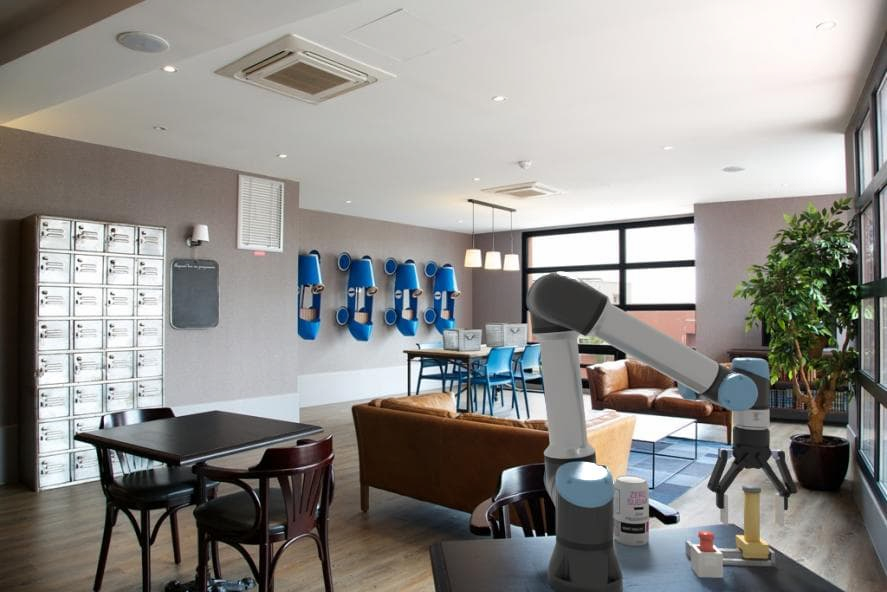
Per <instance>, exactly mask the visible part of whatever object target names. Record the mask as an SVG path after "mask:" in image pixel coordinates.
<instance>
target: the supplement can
mask: <svg viewBox="0 0 887 592" xmlns="http://www.w3.org/2000/svg"><path fill="white" fill-rule="evenodd" d="M613 484H614V537H613V539H615V541H616V542H618V543H619V542H620V545H621V544H622V545H624V546H630V547H641V546H644V545H646V544H647V543H648V542H649V541H650V521H649V519H650V513H649V512H650V510H649V509H650V508H649V507H650V499H649V498H650V497H649V496H650V493H649V491H650V489H649V484H648V483H647V479H646V478H644V477H642V476H638V475H629V474H628V475H627V474H626V475H618V476H616V477H615V480H614V481H613Z"/></svg>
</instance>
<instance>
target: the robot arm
mask: <svg viewBox="0 0 887 592" xmlns="http://www.w3.org/2000/svg"><path fill="white" fill-rule="evenodd" d="M526 307H527V310H528V312H529V315H530V317H529V318H530V326H531V334H532V336H533V337H534V338H536V339H537V340H538V342H539V349H540V350H539V351H540V360H541V369H542V378H543V379H542V381H543V387H544V389H543V390H544V399H545V400H544V401H545V409H546V410H545V411H546V419H547V420H546V421H547V430H548V439H549V444H548V446H547V448H546V449H545V450H544V451H543V455H544V468H545V469H544V472H543V473H544V475H543V483H544V487H545V490H546V492H547V494H548V496H549V498H551V501H552V503H553V505H554V507H555V544H554V548H553V550H552V554H551V555H550V556H551V557H550V560H549V562H548V566H547V572H546V573H547V579H546V581H547V583H548V585H549V586H550V587H551V588H552V589H554V590H555V591H557V592H622V590H623V582H624V581H623V573H622V570H621V567H620V564H619V563H620V562H619V559H618V557H617V554H616V551H615V548H614V545H615V544H614V478H613V475H612V473H611V472H610V471H609V469H607V468H606V467H604V466H602V465H598V464H597V455H596V449H595V447H593V446H592V445H591V444H590V443H589V441H588V432H587V431H588V430H587V423H586V422H587V421H586V413H585V403H584V394H583V391H584V390H583V383H582V382H583V381H582V374H581V364H580V355H579V354H580V353H579V343H578V337H579V336H580V335H581V336H582V335H583V337H589V336H593V337H595V338H597V339H599V340H601V341H602V342H604V343H606V344H608V345H609V346H612V347H613V348H615V349H617V350H619V351H621V352H623V353H625V354H626V355H628V356H629V357H632V358H633V359H635V360H637V361H638V362H641V363H643V364H644V365H646V366H648V367H650V368H652V369H653V370H655V371H657V372H659V373H661V374H663V375H664V376H666V377H668V378H670V379H672V380H673V381H675V382H677V389H678V394H679V396H680V397H681V398H682V399H683V400H687V401H694V402H695V401H696V402H697V401H705V402H708V403H710V404H713V405H717V406H720V407H722V408H724V409H726V410H727V411H730V412H732V424H734V426H733V427H732V447H731V448H728V449H727V448H723V447H719V448H718V449H717V452H718V453H717V458H716V459H717V460H716V462H715V463H714V467H713V470H712V472H711V475H710V478H709V480H708V482H707V485H706V487H707V489H708V490H709V491H711V492H712V493H715V504H716V507H717V508H718V509H720V510H719V511H720V513H719V518H720V522H721V523H722V524H723V525H724V526H729V495H728V494H727V493H726V492H727V491H728V489H729V487H731V485H732V484H733V482H734V481H735V479H736V478H737V477H738V475H739V474H740V472H742V471H743V470H744V469H749V470H750V469H756V470H760V469H761V470H762V471H763V472H764V474H765V475H766V476H767V478H768V479H769V480H770V482H771V483H772V485H773V486H774V487H775V489H776V490H777V492H778V493H774V522H775V524H777V525H778V526H779V527H785V511H788V510H789V498H790V497H791V495H795V494H797V493H798V489H797V487H796V484H795V482H794V479H793V476H792V474H791V472H790V470H789V466H788V464H787V462H786V453H785V451H784V450H782V449H780V448H775V449H771V448H770V447H771V445H770V443H771V441H770V440H771V433H770V432H771V431H770V429H769V428H768V427H769V426H770V425H771V424H770V421H771V420H770V381H771V377H770V368H769V363H768V361H767V360H766V359H763V358H758V357H757V358H756V357H735V358H733V359H732V360H731V361H732V362H731V365H730V366H724V365H722V364H720V363H718V362H717V361H716V360H714V359H711V358H709V356H706V355H705V354H702V353H700V352H699V351H698V350H695V349H693V348H692V347H690V346H688V345H687V344H685V343H683V342H680V341H679V340H677V339H675V338H674V337H672V336H671V335H668V334H667V333H664V332H663V331H661V330H660V329H658V328H656V327H653V326H652V325H650V324H648V323H646V322H645V321H643V320H642V319H639V318H638V317H635V316H634V315H632V314H630V313H629V312H627V311H625V310H623V309H621V308H619V307H618V306H616V305H614V304H612V302H611V300H610V297H609V296H608V295H606V294H605V293H603V292H601V291H599V290H597V289H596V288H594V287H593V286H592V285H589V283H587V282H585V281H583V280H582V279H580V278H579V277H577V275H575V274H572V273H570V272H566V271H555V272H549V273H548V274H545V275H542V276H540V277H539V278H537V279H536V280H535V281H534V282H533V283H532V284H531V285H530V287H529V288H528V292H527V294H526ZM731 456H733V458H734V460H733V461H732V463H731V464H730V465H731V466H730V467H729V468H728V470H727V471H726V472H725V474H724V475H723V473H724V471H725V469H726V465H727V463H728V459H730V458H731ZM771 457H772V458H773V459H774V461H775V464H776V466H777V468H778V471H779V473H780V475H781V476H780V477H781V478H782V481H783V483H782V481H781V480H780V479H779V477H778V476H777V474H776V472H774V470H773V469H772V468H773V467H772V466H771V465H770V463H768V461H769V459H770V458H771Z"/></svg>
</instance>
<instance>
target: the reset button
mask: <svg viewBox="0 0 887 592" xmlns="http://www.w3.org/2000/svg"><path fill="white" fill-rule="evenodd" d="M697 535H698V536H697V537H698V538H699V545H700V551H701V552H713V545H714V540H715V539H716V538H715V533H714V532H711V531H710V530H709V531H707V530H700V531H698V533H697Z"/></svg>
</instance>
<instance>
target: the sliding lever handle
mask: <svg viewBox="0 0 887 592" xmlns="http://www.w3.org/2000/svg"><path fill="white" fill-rule="evenodd" d="M741 488H742V489H741V491H743V534H735V545H736V549H742V550H743V557H744V558H768V554H769V548H770V544H769V543H767V542H766V541H765V540H764V539H763V538H761V532H760V531H761V527H760V524H761V522H760V521H761V518H760V516H761V514H760V513H761V512H760V511H761V508H760V501H761V500H760V497H761V496H760V493H762V488H761V487H760V486H758V485H754V484H743V485H742V486H741Z"/></svg>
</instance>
